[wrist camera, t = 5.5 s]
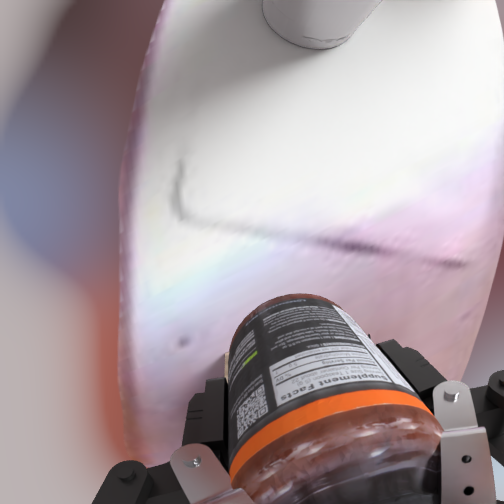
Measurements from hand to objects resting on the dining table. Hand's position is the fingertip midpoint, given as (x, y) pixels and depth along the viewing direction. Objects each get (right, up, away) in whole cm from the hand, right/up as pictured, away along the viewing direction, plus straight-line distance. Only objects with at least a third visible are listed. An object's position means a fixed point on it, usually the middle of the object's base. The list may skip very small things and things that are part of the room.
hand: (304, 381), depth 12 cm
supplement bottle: (0, +1, +3) cm, 3 cm away
